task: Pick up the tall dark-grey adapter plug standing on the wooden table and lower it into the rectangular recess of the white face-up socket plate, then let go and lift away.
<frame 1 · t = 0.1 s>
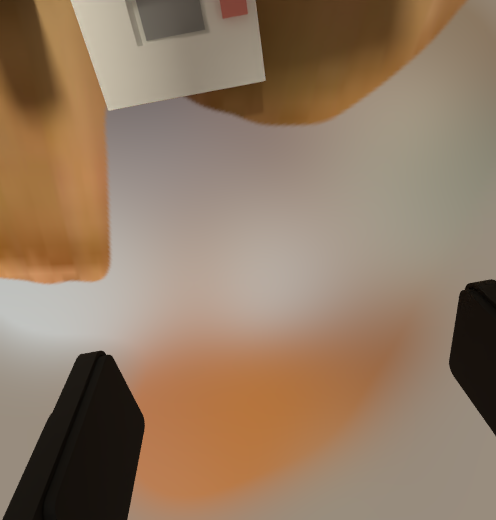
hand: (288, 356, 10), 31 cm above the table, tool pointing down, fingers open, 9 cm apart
socket plate: (168, 2, 31), on the table
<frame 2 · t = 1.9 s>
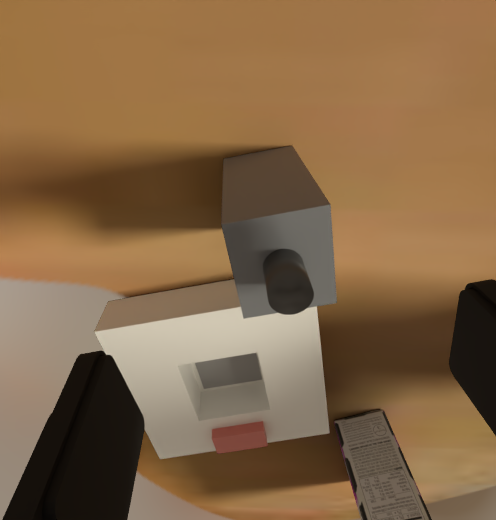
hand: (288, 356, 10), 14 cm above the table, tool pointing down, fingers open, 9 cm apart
candy bar box: (366, 444, 36), on the table
plug: (263, 189, 22), on the table
socket plate: (226, 356, 29), on the table
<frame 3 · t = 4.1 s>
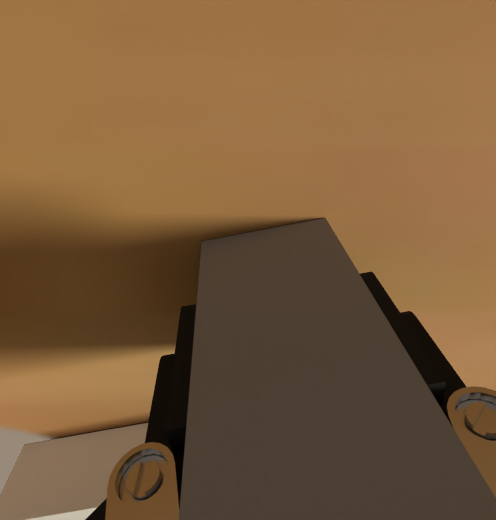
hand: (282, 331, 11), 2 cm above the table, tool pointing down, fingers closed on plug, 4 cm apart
plug: (272, 286, 13), on the table, touching gripper
socket plate: (214, 497, 20), on the table
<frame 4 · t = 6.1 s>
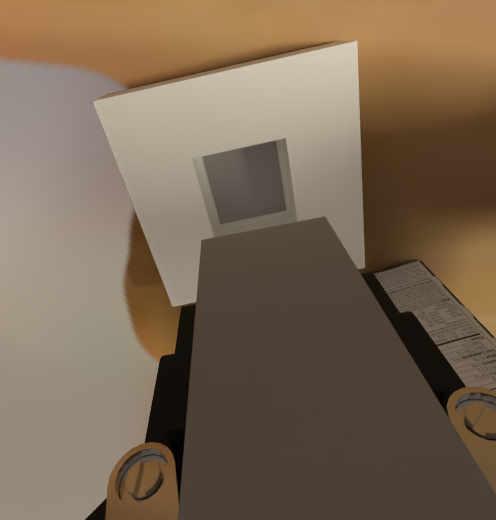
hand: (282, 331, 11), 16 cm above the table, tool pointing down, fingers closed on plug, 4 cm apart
candy bar box: (399, 312, 33), on the table
plug: (272, 285, 13), point 14 cm above the table, touching gripper
socket plate: (245, 179, 25), on the table
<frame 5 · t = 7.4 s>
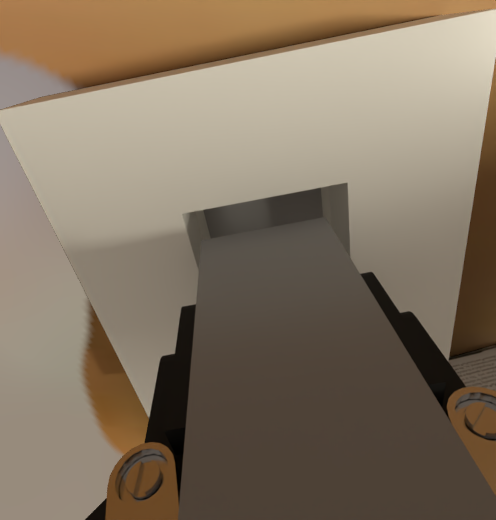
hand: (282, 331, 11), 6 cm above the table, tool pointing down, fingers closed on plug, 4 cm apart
candy bar box: (467, 404, 24), on the table
plug: (272, 285, 13), point 4 cm above the table, touching gripper
socket plate: (267, 234, 16), on the table
when the fingers open (4 cm above the table, at t = 8.5 s): plug stays where it is, resting on socket plate.
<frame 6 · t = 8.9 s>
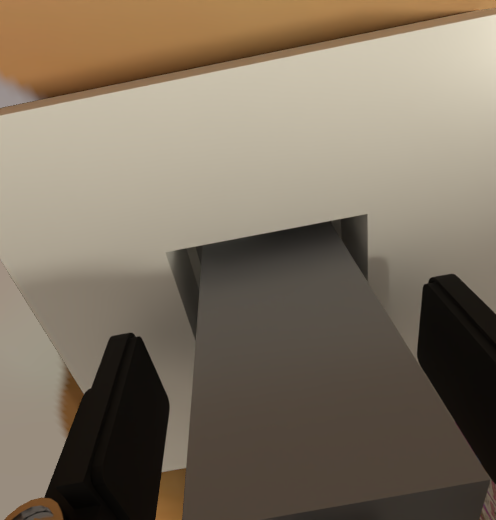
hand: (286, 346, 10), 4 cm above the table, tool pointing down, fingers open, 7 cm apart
candy bar box: (486, 439, 22), on the table
plug: (272, 271, 14), point 1 cm above the table, touching socket plate
socket plate: (267, 264, 14), on the table
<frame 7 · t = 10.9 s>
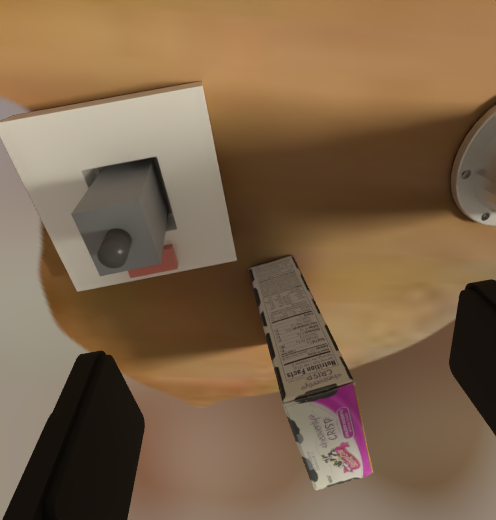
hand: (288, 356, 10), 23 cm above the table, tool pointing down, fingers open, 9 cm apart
candy bar box: (282, 299, 39), on the table
plug: (137, 189, 30), point 1 cm above the table, touching socket plate
socket plate: (137, 187, 31), on the table
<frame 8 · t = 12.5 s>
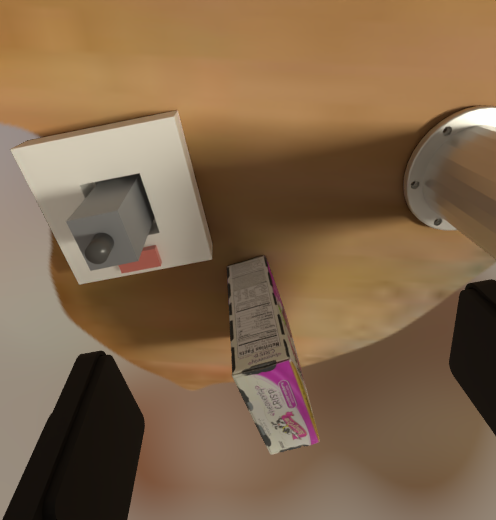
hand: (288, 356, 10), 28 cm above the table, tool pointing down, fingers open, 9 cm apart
candy bar box: (259, 294, 44), on the table
plug: (127, 199, 36), point 1 cm above the table, touching socket plate
socket plate: (128, 197, 37), on the table
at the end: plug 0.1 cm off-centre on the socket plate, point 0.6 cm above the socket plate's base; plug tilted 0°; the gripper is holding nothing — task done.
